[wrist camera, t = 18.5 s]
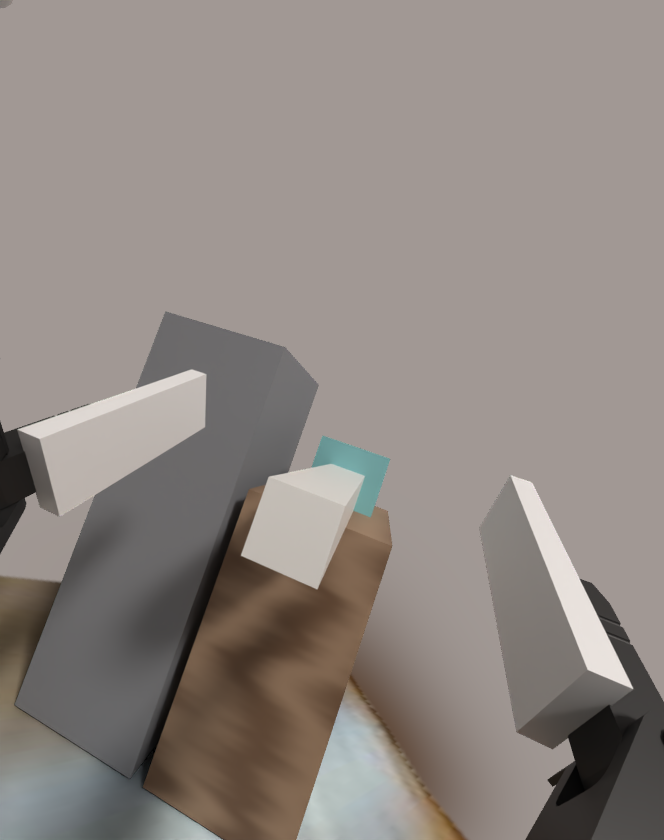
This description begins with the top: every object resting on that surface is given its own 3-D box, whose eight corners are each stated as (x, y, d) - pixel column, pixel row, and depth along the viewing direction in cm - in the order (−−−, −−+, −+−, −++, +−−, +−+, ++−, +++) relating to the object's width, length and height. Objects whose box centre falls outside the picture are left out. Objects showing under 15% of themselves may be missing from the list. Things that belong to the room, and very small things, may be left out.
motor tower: (14, 704, 22) (165, 311, 23) (143, 616, 34) (237, 359, 35) (130, 778, 20) (285, 347, 22) (222, 658, 32) (318, 384, 33)
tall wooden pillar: (142, 787, 20) (248, 489, 21) (231, 662, 32) (296, 476, 33) (283, 877, 18) (392, 546, 19) (322, 709, 30) (387, 511, 31)
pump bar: (205, 539, 11) (250, 412, 12) (317, 484, 32) (332, 438, 32) (358, 608, 10) (404, 466, 11) (372, 505, 31) (388, 458, 31)
